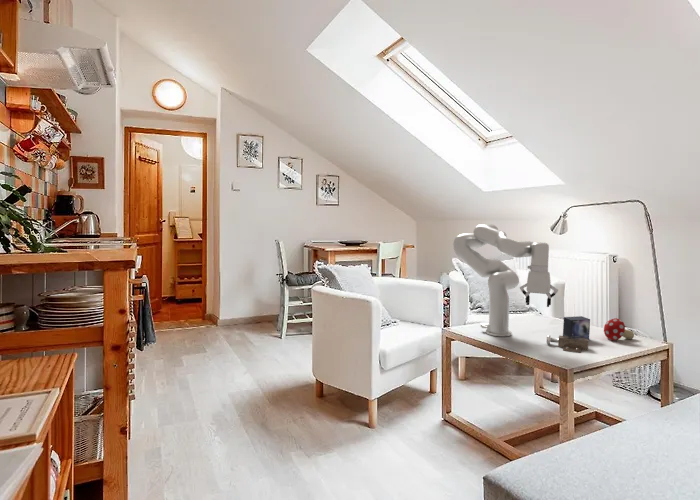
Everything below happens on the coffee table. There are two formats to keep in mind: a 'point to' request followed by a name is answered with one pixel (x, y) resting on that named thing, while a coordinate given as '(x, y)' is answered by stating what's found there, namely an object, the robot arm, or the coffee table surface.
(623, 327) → the decorative mushroom
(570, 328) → the small box
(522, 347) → the coffee table surface
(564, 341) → the hinge
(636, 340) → the coffee table surface
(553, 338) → the hinge pin
